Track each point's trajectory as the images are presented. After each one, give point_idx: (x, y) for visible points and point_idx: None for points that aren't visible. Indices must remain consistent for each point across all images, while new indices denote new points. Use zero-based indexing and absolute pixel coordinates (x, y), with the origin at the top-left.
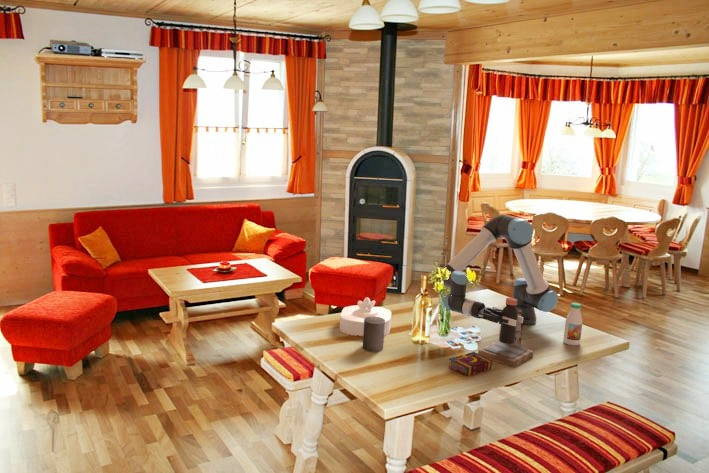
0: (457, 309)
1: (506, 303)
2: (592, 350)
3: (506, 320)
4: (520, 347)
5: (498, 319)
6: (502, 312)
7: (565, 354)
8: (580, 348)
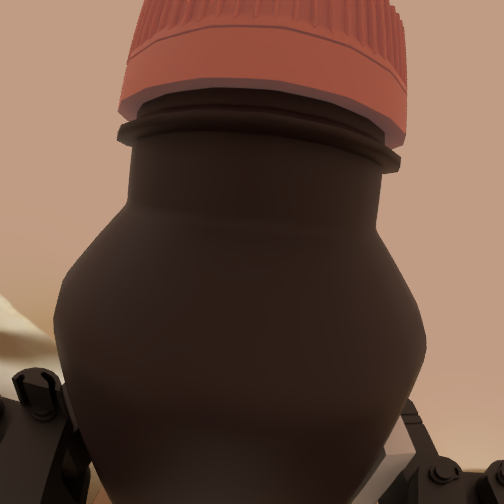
0: None
1: (404, 120)
2: (19, 316)
3: (409, 403)
4: (103, 500)
5: (475, 480)
6: (346, 474)
7: (59, 367)
8: (7, 332)
